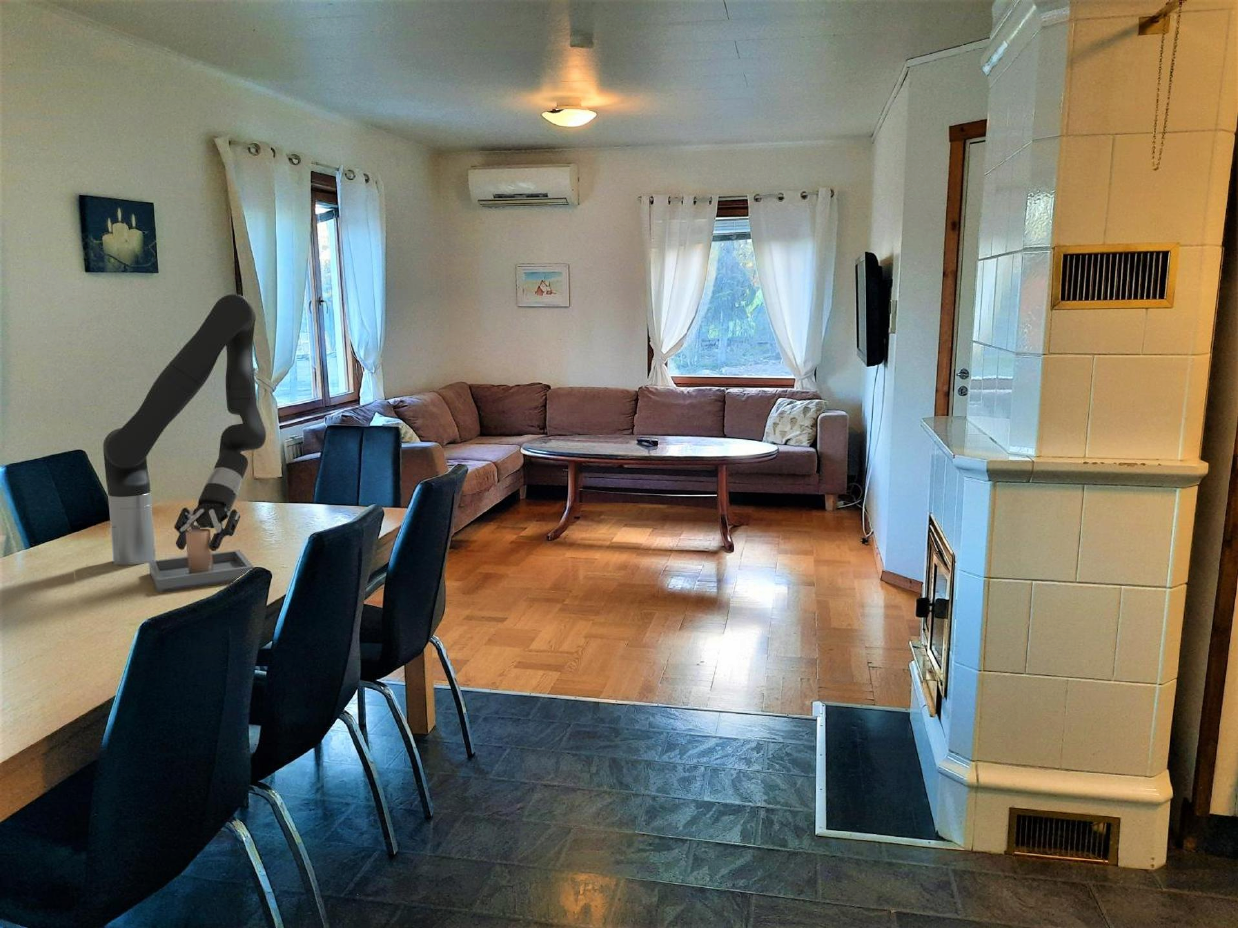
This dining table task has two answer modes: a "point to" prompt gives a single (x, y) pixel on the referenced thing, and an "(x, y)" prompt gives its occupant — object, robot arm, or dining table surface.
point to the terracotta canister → (199, 551)
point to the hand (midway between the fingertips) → (195, 548)
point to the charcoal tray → (177, 576)
